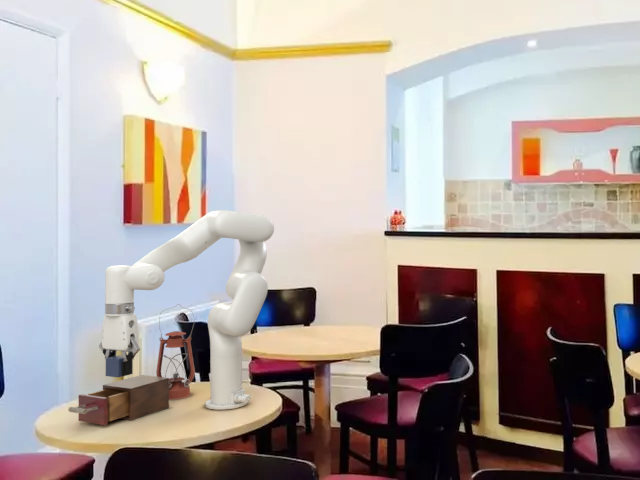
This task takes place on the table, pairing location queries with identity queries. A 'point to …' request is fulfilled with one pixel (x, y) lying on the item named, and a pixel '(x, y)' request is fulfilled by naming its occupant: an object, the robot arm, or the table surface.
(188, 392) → the lantern
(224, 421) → the table surface
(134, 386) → the cabinet
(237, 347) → the robot arm
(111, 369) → the block
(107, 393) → the drawer
